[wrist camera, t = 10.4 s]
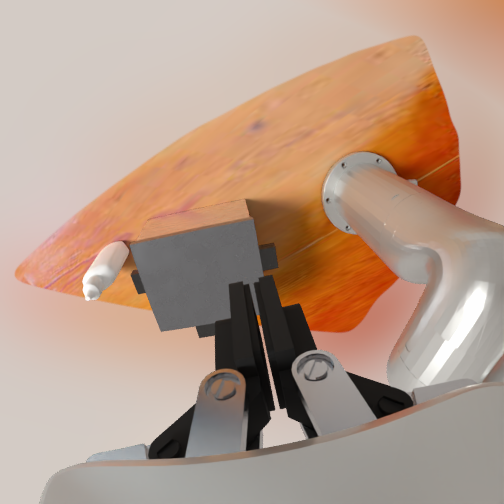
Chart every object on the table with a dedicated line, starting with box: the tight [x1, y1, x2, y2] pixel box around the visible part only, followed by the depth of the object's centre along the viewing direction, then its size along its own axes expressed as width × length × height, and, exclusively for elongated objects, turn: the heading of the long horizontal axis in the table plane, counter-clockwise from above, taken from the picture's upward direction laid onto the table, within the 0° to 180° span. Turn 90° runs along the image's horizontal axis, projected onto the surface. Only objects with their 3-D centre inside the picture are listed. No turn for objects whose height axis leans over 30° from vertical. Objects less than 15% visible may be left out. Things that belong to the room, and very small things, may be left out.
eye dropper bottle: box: [83, 241, 129, 301], centre depth 39 cm, size 4×6×12 cm
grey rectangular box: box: [131, 199, 278, 294], centre depth 42 cm, size 19×12×8 cm, turn 99°
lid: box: [130, 217, 264, 338], centre depth 38 cm, size 15×15×1 cm
